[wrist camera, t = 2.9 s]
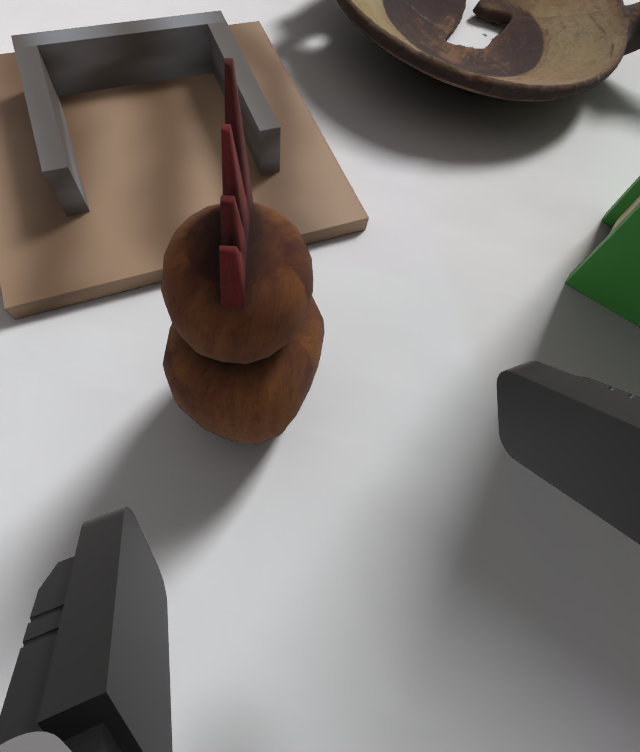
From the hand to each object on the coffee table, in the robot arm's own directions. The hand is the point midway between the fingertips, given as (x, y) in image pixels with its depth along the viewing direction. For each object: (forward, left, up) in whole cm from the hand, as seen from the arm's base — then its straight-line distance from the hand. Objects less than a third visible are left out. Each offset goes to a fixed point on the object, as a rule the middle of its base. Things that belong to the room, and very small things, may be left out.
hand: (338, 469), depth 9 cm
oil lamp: (+27, +28, -12) cm, 41 cm away
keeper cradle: (0, +25, -12) cm, 28 cm away
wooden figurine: (0, +7, -12) cm, 14 cm away
